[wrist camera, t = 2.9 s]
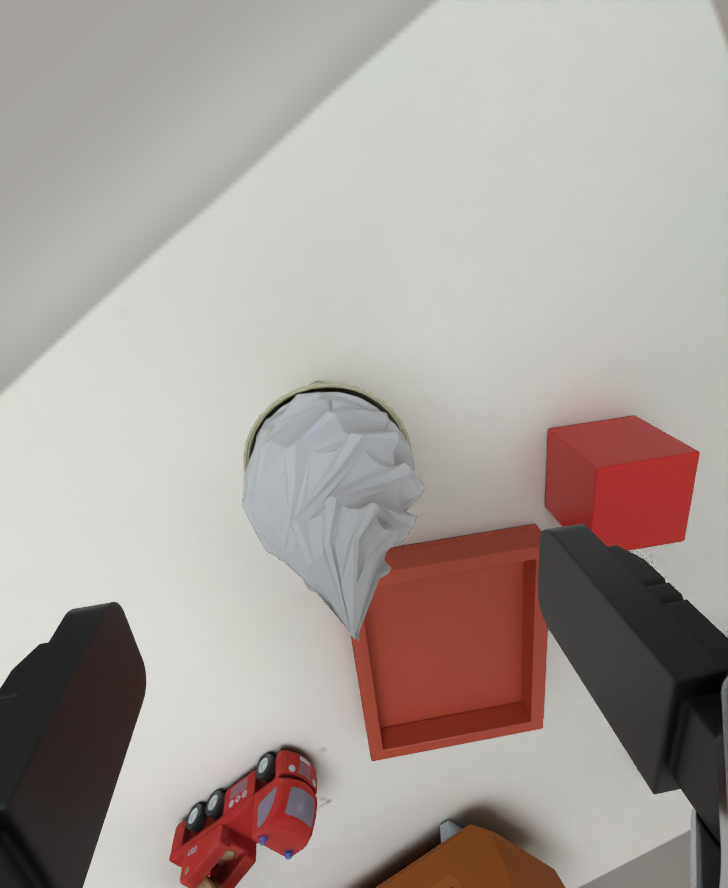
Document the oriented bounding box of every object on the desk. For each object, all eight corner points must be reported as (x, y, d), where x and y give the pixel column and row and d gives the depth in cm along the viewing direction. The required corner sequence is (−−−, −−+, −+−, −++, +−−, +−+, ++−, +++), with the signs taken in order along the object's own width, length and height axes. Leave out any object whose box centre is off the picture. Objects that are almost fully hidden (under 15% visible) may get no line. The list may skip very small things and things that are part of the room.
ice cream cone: (288, 454, 24) (279, 768, 10) (240, 355, 22) (147, 579, 8) (388, 416, 23) (519, 680, 10) (351, 311, 21) (450, 464, 8)
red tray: (338, 556, 26) (341, 579, 24) (535, 523, 27) (551, 544, 25) (367, 732, 32) (371, 762, 30) (530, 701, 32) (543, 728, 31)
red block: (547, 428, 25) (596, 468, 21) (634, 414, 25) (701, 451, 21) (544, 506, 27) (589, 558, 22) (626, 493, 27) (685, 541, 23)
